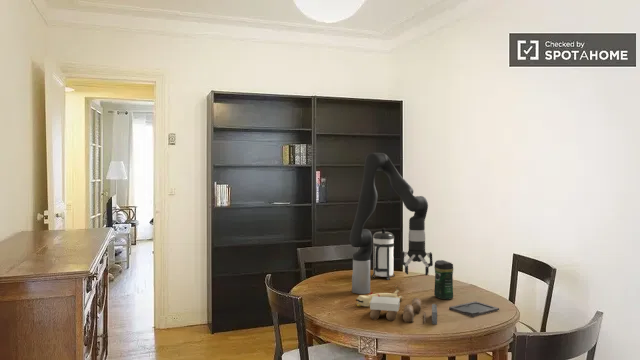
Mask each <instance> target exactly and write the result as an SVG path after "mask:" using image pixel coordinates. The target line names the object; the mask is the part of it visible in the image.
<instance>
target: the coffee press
mask: <svg viewBox="0 0 640 360" xmlns="http://www.w3.org/2000/svg"><path fill="white" fill-rule="evenodd" d="M394 241H395V235H394V234H393V233H392V232H389V231H386V228H385V227H382V228H381V231H376V232H375V233H374V234H373V235H372V252H373V254H372V255H373V256H372V257H373V258H372V259H373V262H372V263H373V264H372V265H373V266H372V269H373V271H372V272H373V273H372V275H371V279H376V278H377V277H380V278H386V280H387V281H390V280H391V277H393V278H395V276H396V274H395V273H394V249H395V247H394V246H395V242H394ZM373 277H374V278H373Z"/></svg>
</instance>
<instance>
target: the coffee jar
mask: <svg viewBox="0 0 640 360" xmlns="http://www.w3.org/2000/svg"><path fill="white" fill-rule="evenodd" d="M453 273H454V263H452V262H450V261H446V260H442V259H441V260H440V259H438V260H436V261H435V262H434V291H433V292H434V297H436V298H438V299H441V300H451V299H454V278H453V276H454V274H453Z"/></svg>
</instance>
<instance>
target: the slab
mask: <svg viewBox="0 0 640 360" xmlns="http://www.w3.org/2000/svg"><path fill="white" fill-rule="evenodd" d="M400 305H401V303H400V298H392V297H376V296H373V297H372V300H371V302H370V305H369V310H381V311H386V312H387V311H397V312H399V310H400Z"/></svg>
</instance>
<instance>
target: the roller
mask: <svg viewBox="0 0 640 360" xmlns="http://www.w3.org/2000/svg"><path fill="white" fill-rule="evenodd" d="M411 302H412V303H411V306H412V307H413V312H414V314H418V315H419V313H420V312H421V311H422V310H421V308H422V301H421V299H420V298H419V297H414V298H413V299H412V301H411Z"/></svg>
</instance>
